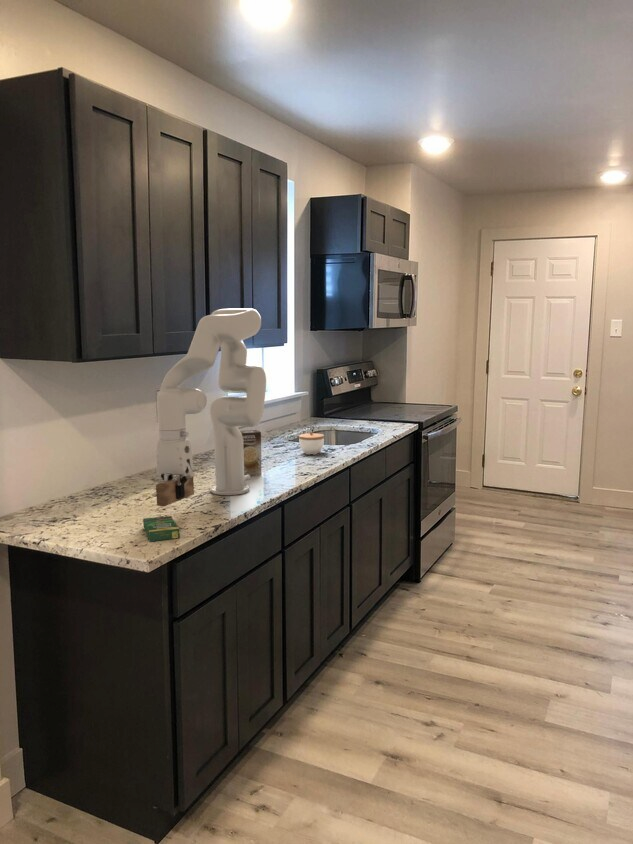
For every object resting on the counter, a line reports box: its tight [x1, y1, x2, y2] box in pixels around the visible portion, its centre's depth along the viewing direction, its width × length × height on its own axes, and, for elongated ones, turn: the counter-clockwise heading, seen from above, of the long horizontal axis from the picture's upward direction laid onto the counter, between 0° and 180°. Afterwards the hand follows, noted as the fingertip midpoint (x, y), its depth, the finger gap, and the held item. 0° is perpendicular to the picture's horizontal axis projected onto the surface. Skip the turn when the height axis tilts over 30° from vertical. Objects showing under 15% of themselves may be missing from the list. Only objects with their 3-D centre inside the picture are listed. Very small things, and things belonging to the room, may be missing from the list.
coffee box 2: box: [240, 429, 263, 477], centre depth 249 cm, size 9×6×16 cm
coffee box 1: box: [142, 515, 181, 542], centre depth 182 cm, size 8×3×13 cm
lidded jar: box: [298, 431, 325, 455], centre depth 288 cm, size 11×11×9 cm
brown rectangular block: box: [155, 473, 195, 507], centre depth 196 cm, size 14×2×6 cm, turn 154°
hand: (175, 496), depth 196 cm, fingers closed on brown rectangular block, 2 cm apart
